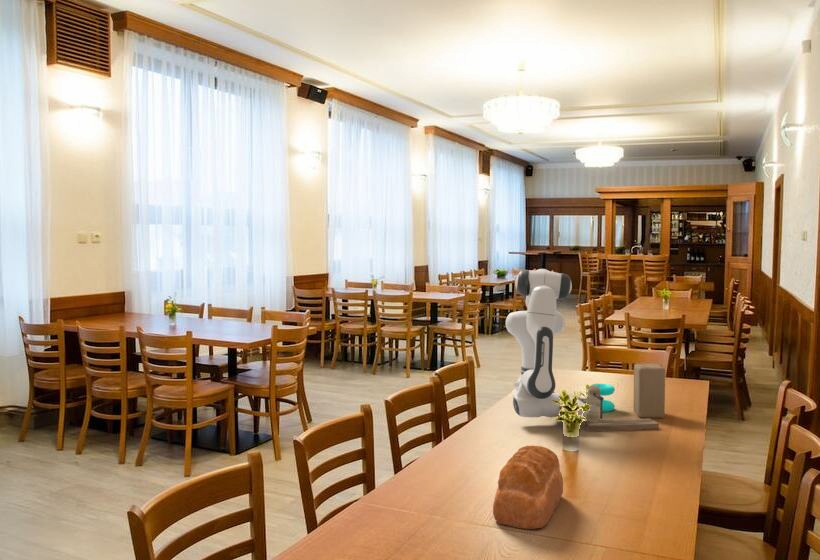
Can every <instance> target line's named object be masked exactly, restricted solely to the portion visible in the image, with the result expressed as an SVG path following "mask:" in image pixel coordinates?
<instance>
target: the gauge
mask: <svg viewBox="0 0 820 560" xmlns="http://www.w3.org/2000/svg"><path fill="white" fill-rule="evenodd" d="M589 386H590V388H589V390H588V392H587V388H586V387H585V396H586V395H587V394H588V397H587V398H586V397H585V398H586V403H587V404H589V405H591V404H595V405H596V410H590V411H588V415H585V420H586V419H587V421H598V420H603V412H602V404H603V400H605V398H604V397H603V396H601V395H600V387H598V386H591V385H589ZM586 403H585V404H586Z"/></svg>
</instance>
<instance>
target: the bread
mask: <svg viewBox="0 0 820 560" xmlns="http://www.w3.org/2000/svg"><path fill="white" fill-rule="evenodd" d="M563 478H564V477H563V475H562V471H561V467H560V460H559V458H558V455H557V454H556V452H554V451H552V450H551V449H549V448H548V447H546V446H545V447H544V446H542V445H539V446H538V445H524V446H522V447H520V448H518V450H517V451H516V452H515V453H514V454H513V455H512V457H510V458H509V459H508V460H507V462H506V464H505V465H504V466H503V467H502V469H501V470H500V471H499V476H498V480H497V485H498V486H497V488H496V491H495V496H494V499H493V503H492V515H493V518H494V521H496V522H497V523H498V524H500V525H503V526H507V527H511V528H516V529H517V528H518V529H524V530H525V529H527V530H528V529H529V530H535V529H536V530H537V529H543V528H544V527H545V526H546V525H547V524H548V522H550V521H549V520H550V518H552V516H553V514H554V512H555V510H556V509H557V507H558V505H559V503H560V501H561V499H562V496H563V493H564V480H563Z"/></svg>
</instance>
